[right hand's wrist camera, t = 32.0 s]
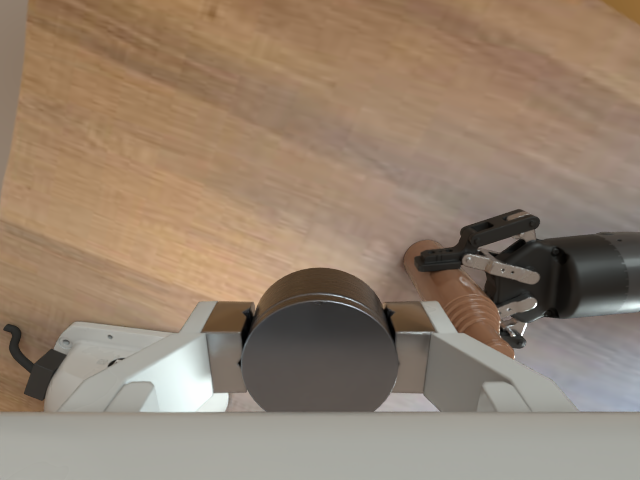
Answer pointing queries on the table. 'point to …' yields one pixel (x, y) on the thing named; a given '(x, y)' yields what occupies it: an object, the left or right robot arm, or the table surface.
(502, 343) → the bottle
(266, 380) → the cap
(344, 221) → the table surface
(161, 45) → the table surface
